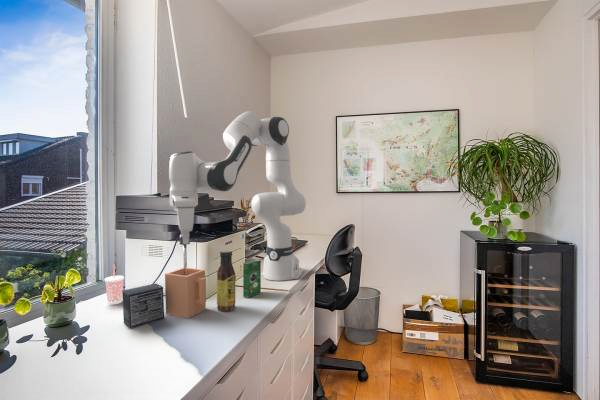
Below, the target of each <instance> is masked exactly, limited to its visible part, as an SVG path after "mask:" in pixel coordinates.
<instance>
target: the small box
mask: <svg viewBox="0 0 600 400" xmlns="http://www.w3.org/2000/svg"><path fill="white" fill-rule="evenodd" d="M122 294H123V296H122V315H123V317H122V318H123V324H124V325H125V326H126V327H127V328H128V329H134V328H138V327H141V326H145V325H148V324H151V323H153V322H156V321H157V322H158V321H162V320H164V319H165V305H164V303H165V302H164V286H162V285H160V284H158V283H156V282H155V283H151V284H146V285H142V286H138V287H133V288H129V289H128V288H127V289H124V290H123V291H122Z"/></svg>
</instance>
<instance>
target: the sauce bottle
mask: <svg viewBox="0 0 600 400" xmlns="http://www.w3.org/2000/svg"><path fill="white" fill-rule="evenodd" d="M219 253H220V254H219V256H220V262H219V263H220V265H219V267H218V268H217V272H216V274H217V275H216V305H217V310H218V311H219V312H229V311H232V310H234V309H235V306H236V272H235V269H234V266H233V261H232V259H233V258H232V256H233V251H232V250H221V251H220V252H219Z"/></svg>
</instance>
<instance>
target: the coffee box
mask: <svg viewBox="0 0 600 400" xmlns="http://www.w3.org/2000/svg"><path fill="white" fill-rule="evenodd" d="M261 262H262V261H261V259H253V260H250V261H245V262H243V263H242V264H243V266H242V267H243V269H242V272H243V273H242V274H243V280H242V281H243V284H242V286H243V290H242V291H243V294H242V297H243V298H245V299H248V298H252V297H253V296H255V295H257V294H259V293H261V282H262V281H261V278H262V275H261V272H262V271H261V267H262V266H261V265H262V264H261Z"/></svg>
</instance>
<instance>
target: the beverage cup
mask: <svg viewBox="0 0 600 400" xmlns="http://www.w3.org/2000/svg"><path fill="white" fill-rule="evenodd" d="M112 270H113V275H111V276H108V277H105V278H104V283H105V289H106V297H107V304H108V305H118V304H120V303H123V294H122V291H123V289H124V280H125V277H124V275H116V265H115V263H113V264H112Z"/></svg>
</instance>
